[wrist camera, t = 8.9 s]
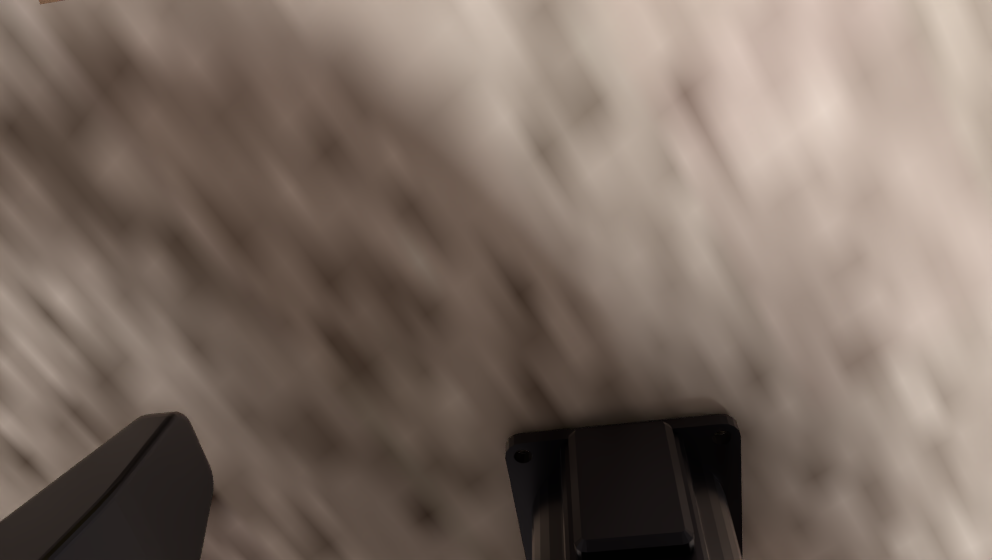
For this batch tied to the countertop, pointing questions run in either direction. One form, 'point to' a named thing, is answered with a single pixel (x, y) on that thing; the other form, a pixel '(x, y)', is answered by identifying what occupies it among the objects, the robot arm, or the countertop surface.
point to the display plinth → (48, 1)
